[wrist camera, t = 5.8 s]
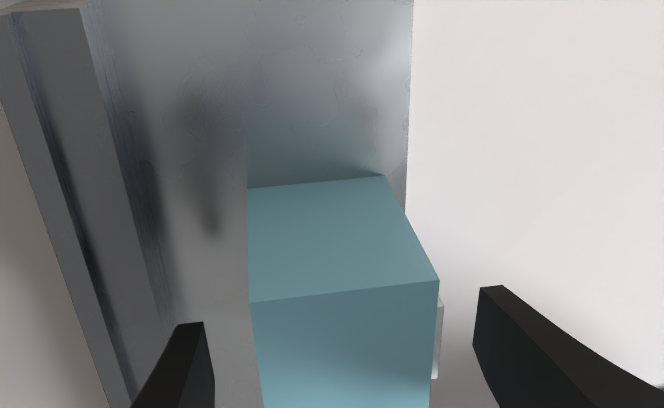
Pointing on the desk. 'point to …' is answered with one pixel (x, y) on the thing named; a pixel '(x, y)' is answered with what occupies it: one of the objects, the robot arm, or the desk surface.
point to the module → (340, 297)
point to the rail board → (191, 151)
